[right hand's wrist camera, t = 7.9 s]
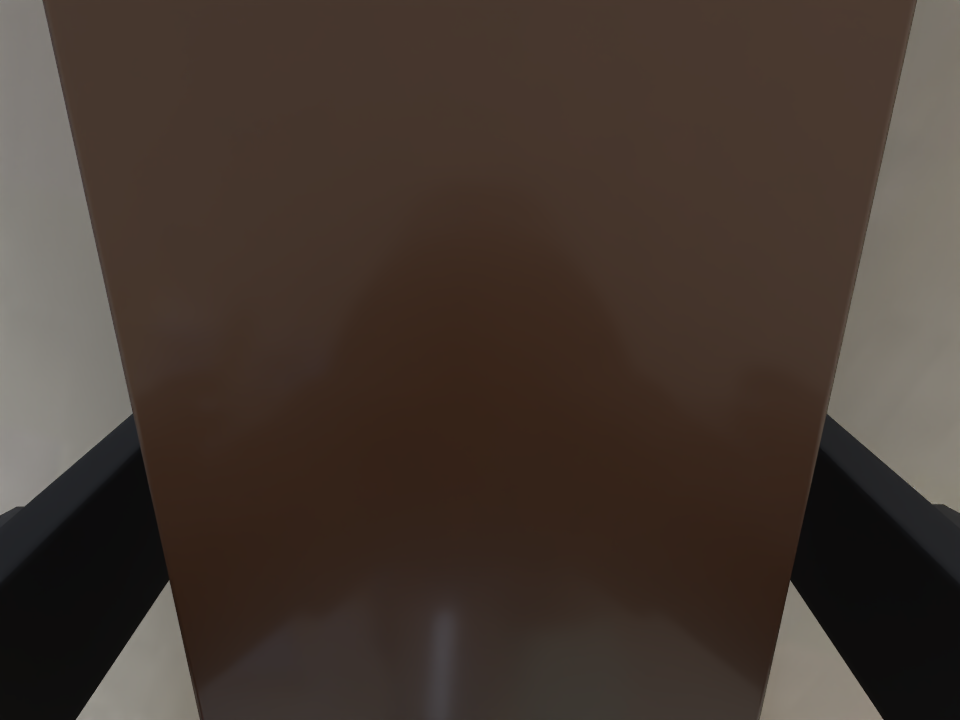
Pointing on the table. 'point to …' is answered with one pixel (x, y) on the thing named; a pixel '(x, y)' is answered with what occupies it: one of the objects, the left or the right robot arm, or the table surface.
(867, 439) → the table surface
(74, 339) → the table surface
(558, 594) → the walnut beam
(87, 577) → the right robot arm
